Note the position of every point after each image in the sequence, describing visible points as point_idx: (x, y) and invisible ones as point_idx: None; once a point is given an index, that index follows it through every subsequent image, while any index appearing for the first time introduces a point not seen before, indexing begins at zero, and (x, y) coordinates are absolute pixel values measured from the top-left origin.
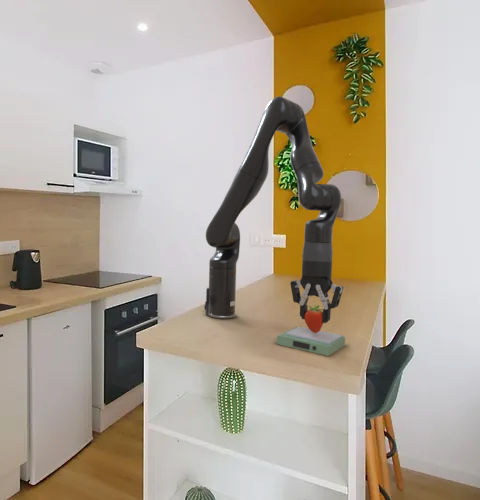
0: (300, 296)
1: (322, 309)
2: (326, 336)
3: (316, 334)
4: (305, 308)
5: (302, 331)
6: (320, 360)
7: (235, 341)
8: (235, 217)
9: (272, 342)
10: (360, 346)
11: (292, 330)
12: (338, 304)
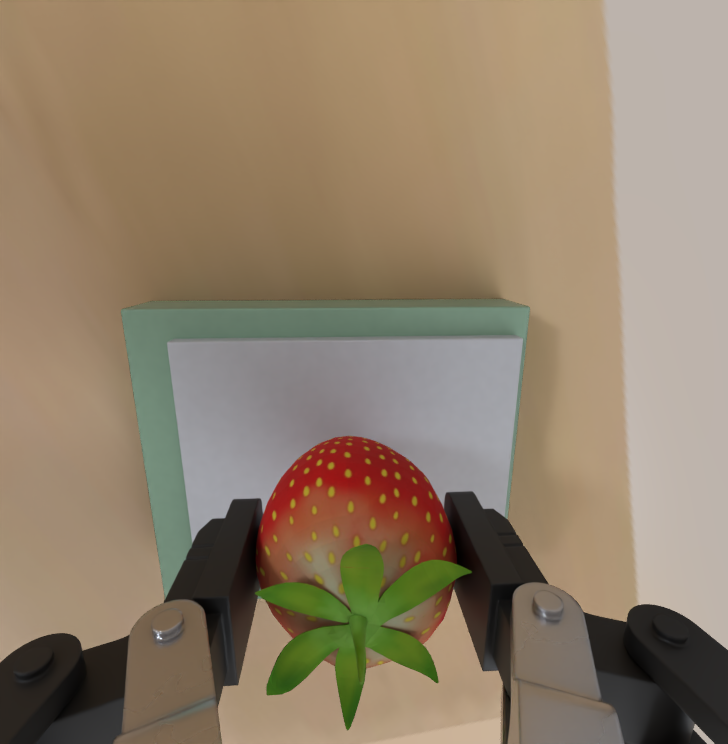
0: (28, 724)
1: (438, 570)
2: (443, 460)
3: None
4: (241, 626)
5: (260, 463)
6: None
7: None
8: None
9: (149, 550)
10: (591, 236)
11: (193, 491)
12: (712, 648)
